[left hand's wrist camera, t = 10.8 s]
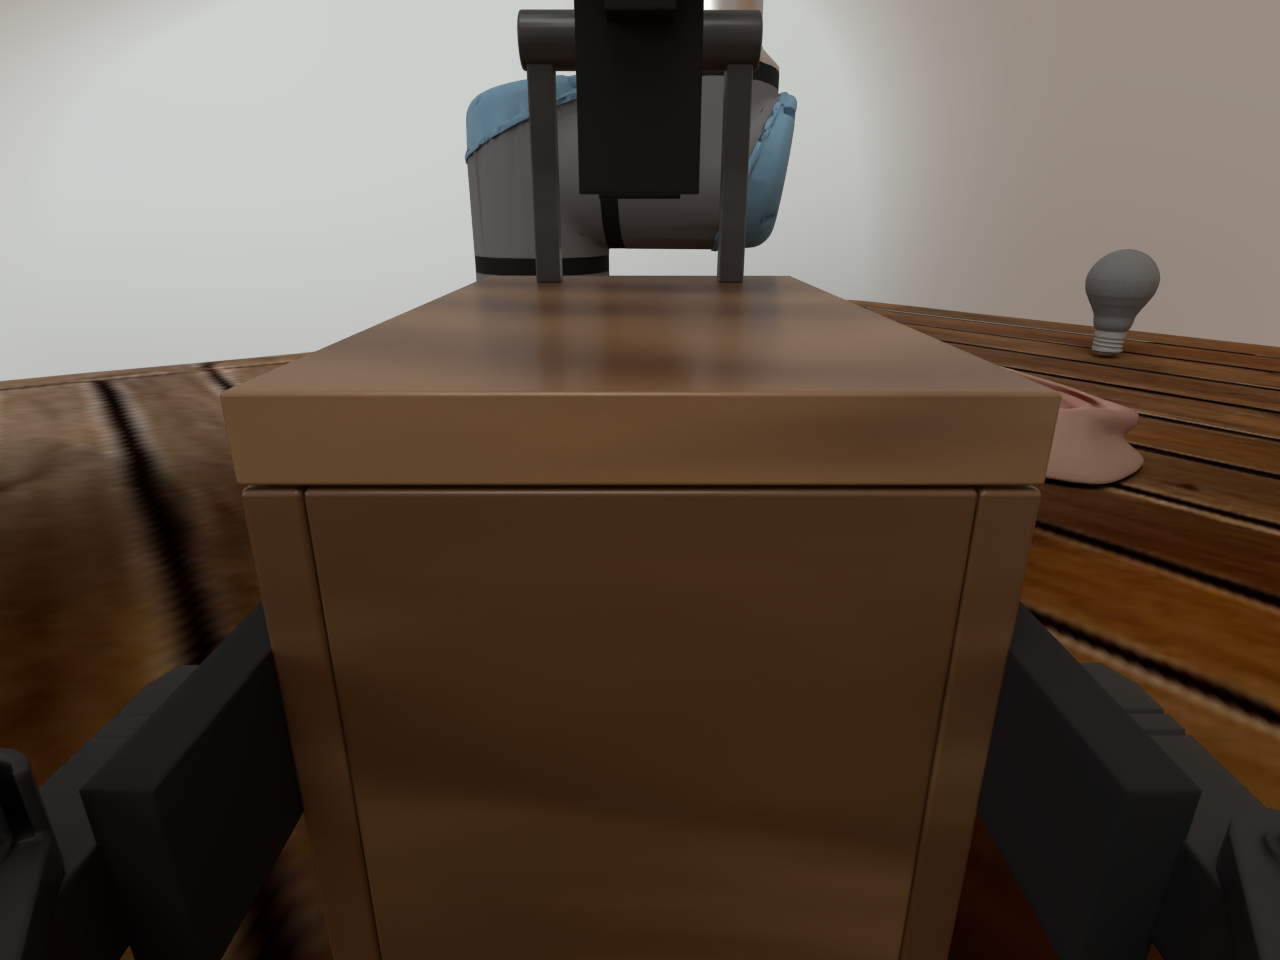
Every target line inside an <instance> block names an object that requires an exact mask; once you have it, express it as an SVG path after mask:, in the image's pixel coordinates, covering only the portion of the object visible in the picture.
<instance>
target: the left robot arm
mask: <svg viewBox="0 0 1280 960" xmlns="http://www.w3.org/2000/svg"><path fill="white" fill-rule="evenodd" d="M303 812H304V810H303V805H302V800H301V795H300V790H299V785H298V780H297V775H296V770H295V765H294V760H293V755H292V750H291V745H290V740H289V735H288V730H287V725H286V720H285V715H284V710H283V705H282V700H281V695H280V690H279V684H278V679H277V674H276V669H275V664H274V659H273V654H272V649H271V644H270V639H269V634H268V629H267V624H266V619H265V614H264V609H263V604H262V601H261V602H260V603H259V604H258V605H257V606H256V607H255V608H254V609H253V610H252V611H251V612H250V613H249V614H248V615H247V617H246V618H245V619H244V620H243V621H242V622H241V623H240V624H239V625H238V626H237V627H236V628H235V629H234V630H233V631H232V632H231V633H230V634H229V635H228V636H227V637H226V638H225V639H224V640H223V641H222V642H221V643H220V644H219V646H218V647H217V648H216V649H215V650H214V651H213V652H212V653H211V654H210V655H209V656H208V657H207V658H206V659H205V660H204V661H203V662H202V663H201V664H200V665H180V666H179V667H177V668H175V669H173V670H172V671H170V672H168V673H167V674H165V675H163V676H162V677H160V678H158V679H157V680H155V681H153V682H151V683H150V684H148V685H146V686H145V687H144V688H143V689H141V690H140V691H139V692H138V693H137V694H136V695H135V696H134V697H133V698H132V699H131V700H130V701H129V702H128V703H127V704H126V705H125V706H124V707H123V708H122V709H121V710H120V711H119V714H118V716H117V717H112V718H111V719H110V720H109V721H108V722H107V723H106V724H105V725H104V726H103V727H102V728H101V729H100V730H99V731H98V732H97V736H96V738H91V739H90V740H89V741H88V742H87V743H85V744H84V745H83V746H82V747H81V748H80V749H79V750H78V751H77V752H76V753H75V754H74V755H73V756H72V757H71V758H70V759H69V760H68V761H67V762H66V763H65V764H64V765H63V766H62V767H61V768H60V769H59V770H57V771H56V772H55V773H54V774H53V775H52V776H51V777H50V778H49V779H48V780H47V781H46V782H45V783H44V784H43V785H42V786H41V787H40V788H39V789H38V786H37V784H36V781H35V778H34V775H33V772H32V770H31V767H30V764H29V761H28V758H27V756H25V755H23V754H22V753H20V752H18V751H17V750H15V749H10V748H0V960H119V959H120V958H121V957H122V955H123V954H124V952H125V951H126V949H127V948H128V946H129V945H130V947H131V950H132V953H133V956H134V959H135V960H221V959H222V957H223V955H224V953H225V951H226V950H227V948H228V946H229V944H230V942H231V941H232V939H233V937H234V935H235V933H236V932H237V930H238V928H239V926H240V924H241V923H242V921H243V919H244V917H245V916H246V914H247V912H248V910H249V908H250V907H251V905H252V903H253V901H254V899H255V898H256V896H257V894H258V892H259V890H260V889H261V887H262V885H263V883H264V881H265V880H266V878H267V876H268V874H269V873H270V871H271V869H272V867H273V865H274V864H275V862H276V860H277V858H278V856H279V855H280V853H281V851H282V849H283V847H284V846H285V844H286V842H287V840H288V838H289V837H290V835H291V833H292V831H293V829H294V828H295V826H296V824H297V822H298V821H299V819H300V817H301V815H302V813H303ZM977 812H978V814H979V816H980V817H981V819H982V821H983V823H984V825H985V826H986V828H987V830H988V832H989V834H990V835H991V837H992V839H993V841H994V842H995V844H996V846H997V848H998V850H999V851H1000V853H1001V855H1002V857H1003V859H1004V860H1005V862H1006V864H1007V866H1008V868H1009V869H1010V871H1011V873H1012V875H1013V877H1014V878H1015V880H1016V882H1017V884H1018V885H1019V887H1020V889H1021V891H1022V893H1023V894H1024V896H1025V898H1026V900H1027V902H1028V903H1029V905H1030V907H1031V909H1032V911H1033V912H1034V914H1035V916H1036V918H1037V920H1038V921H1039V923H1040V925H1041V927H1042V928H1043V930H1044V932H1045V934H1046V936H1047V937H1048V939H1049V941H1050V943H1051V945H1052V946H1053V948H1054V950H1055V952H1056V954H1057V955H1058V957H1059V959H1060V960H1146V959H1147V956H1148V953H1149V950H1150V947H1151V944H1152V943H1153V944H1154V946H1155V947H1156V948H1157V950H1158V951H1159V953H1160V954H1161V956H1162V957H1163V959H1164V960H1280V811H1279V810H1274V809H1269V808H1266V807H1265V806H1264V805H1263V804H1262V803H1261V802H1260V801H1259V800H1257V799H1256V798H1255V797H1254V796H1253V795H1252V794H1251V793H1250V792H1249V791H1248V790H1247V789H1246V788H1245V787H1244V786H1243V785H1242V784H1241V783H1240V782H1239V781H1238V780H1237V779H1236V778H1234V777H1233V776H1232V775H1231V774H1230V773H1229V772H1228V771H1227V770H1226V769H1225V768H1224V767H1223V766H1222V765H1221V764H1220V763H1219V762H1218V761H1217V760H1216V759H1215V758H1214V757H1213V756H1212V755H1210V754H1209V753H1208V752H1207V751H1206V750H1205V749H1204V748H1203V747H1202V746H1201V745H1200V744H1199V743H1198V742H1197V741H1196V740H1195V739H1194V738H1193V737H1192V736H1186V734H1185V730H1184V729H1183V728H1182V727H1181V726H1180V725H1179V724H1178V723H1177V722H1176V721H1175V720H1174V719H1173V718H1172V717H1171V716H1170V715H1169V714H1164V713H1163V709H1162V708H1161V707H1160V706H1159V705H1158V704H1157V703H1156V702H1155V701H1154V700H1153V699H1152V698H1151V697H1150V696H1149V695H1148V694H1147V693H1146V692H1145V691H1144V690H1143V689H1142V688H1141V687H1139V686H1138V685H1137V684H1136V683H1134V682H1132V681H1131V680H1129V679H1127V678H1126V677H1124V676H1122V675H1120V674H1119V673H1117V672H1115V671H1114V670H1112V669H1110V668H1109V667H1107V666H1105V665H1103V664H1102V663H1079V662H1078V661H1077V660H1076V659H1075V658H1074V657H1073V656H1072V655H1071V654H1070V653H1069V652H1068V651H1067V650H1066V649H1065V648H1064V647H1063V646H1062V645H1061V644H1060V643H1059V642H1058V641H1057V639H1056V638H1055V637H1054V636H1053V635H1052V634H1051V633H1050V632H1049V631H1048V630H1047V629H1046V628H1045V627H1044V626H1043V625H1042V624H1041V623H1040V622H1039V621H1038V620H1037V619H1036V618H1035V617H1034V616H1033V615H1032V614H1031V613H1030V612H1029V610H1028V609H1027V608H1026V607H1025V606H1024V605H1023V604H1022V603H1021V602H1019V607H1018V612H1017V617H1016V622H1015V627H1014V632H1013V637H1012V642H1011V647H1010V650H1009V654H1008V659H1007V664H1006V669H1005V674H1004V679H1003V684H1002V689H1001V694H1000V699H999V704H998V709H997V714H996V719H995V724H994V729H993V734H992V739H991V744H990V749H989V754H988V759H987V764H986V769H985V774H984V779H983V784H982V789H981V794H980V799H979V804H978V809H977Z"/></svg>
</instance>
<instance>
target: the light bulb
mask: <svg viewBox="0 0 1280 960" xmlns="http://www.w3.org/2000/svg"><path fill="white" fill-rule="evenodd" d="M1159 282H1160V273H1159V270H1158V267H1157V265H1156V263H1155V262H1154V261H1153V259H1152V258H1151V257H1149V256H1148V255H1147V254H1145V253H1143V252H1140V251H1137V250H1132V249H1124V250H1119V251H1115V252H1112V253H1109V254H1107V255H1106V256H1104V257H1103V258H1101V259H1100V260H1099V261H1098V262H1097V263H1096V264H1095V265H1094V266H1093V267H1092V268H1091V270H1090V271H1089V273H1088V275H1087V278H1086V285H1085V287H1086V294H1087V296H1088V299H1089V302H1090V304H1091V307H1092V310H1093V313H1094V321H1093V323H1094V327H1095V334H1094V335H1095V336H1096V337H1094V339H1095V341H1093V343H1095V344H1094V345H1092V350H1094V351H1096V352H1098V354H1100V355H1114V354H1117V353H1119V352H1122V350H1123V349H1121V347H1123V346H1122V343H1124V341H1123V339H1125V337H1126V333H1127V331H1128V330H1129V329H1130V328H1131V326H1132V324H1133V322H1134V319H1135V317H1136V315H1137V314H1138V313H1139V312H1140V310H1141V309H1142V308H1143V307H1144V306H1145V305H1146V304H1147V303H1148V301H1149V300H1150V299H1151V298H1152V297H1153V296H1154V294H1155V292H1156V290H1157V288H1158V286H1159Z"/></svg>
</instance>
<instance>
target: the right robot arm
mask: <svg viewBox="0 0 1280 960" xmlns="http://www.w3.org/2000/svg"><path fill="white" fill-rule="evenodd" d="M704 10H760V11H761V14H762V15H763V0H574V15H575V52H576V75H573V76H563V75H557V76H556V99H557V128H558V158H559V187H560V216H561V246H562V275H563V276H609V249H610V248H628V249H630V248H631V249H711V250H712V251H718V237H719V208H720V180H721V152H722V124H723V96H724V71H702V61H703V22H704ZM778 86H779V67H778V65H777V64H776V63H775V62H774V61H773V59H772V58H771V57H770V56H769V55H768V54H767V53H766V52H765V51H764V49H763V47H761V55H760V61H759V65H758V68H757V70H756V71H753V82H752V103H751V124H750V145H749V167H748V188H747V209H746V230H745V248H751V247H756V246H758V245H760V244H762V243H763V242H764V241H766V240H767V238H768V237H769V236H770V234H771V232H772V230H773V228H774V224H775V221H776V217H777V213H778V209H779V204H780V200H781V196H782V191H783V186H784V181H785V176H786V171H787V166H788V160H789V155H790V149H791V143H792V137H793V131H794V121H795V112H796V108H797V101H796V98H795V97H794V96H792V95H789V94H788V93H787V92H783V93H780V94H778ZM466 128H467V151H466V155H465V160H466V164H468V177H469V189H470V202H471V214H472V226H473V239H474V251H475V263H476V278H477V281H479V280H482V279H484V278H486V277H488V276H536V258H535V236H534V215H533V193H532V171H531V149H530V128H529V106H528V84H527V79H526V80H521V81H516V82H511V83H507V84H504V85H500V86H497V87H494V88H491V89H489V90H486V91H485V92H483V93H481V94H480V95H478V96H477V97H476V98H475V99H474V100H473V101H472V102H471V104H470V105H469V108H468V110H467V116H466Z"/></svg>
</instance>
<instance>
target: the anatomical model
mask: <svg viewBox="0 0 1280 960" xmlns="http://www.w3.org/2000/svg"><path fill="white" fill-rule="evenodd" d="M1000 367H1001V366H1000ZM1002 368H1004V367H1002ZM1004 369H1007V370H1009V371H1011V372H1013V373H1016V374H1018V375H1020V376H1023V377H1025V378H1027V379H1030V380H1032V381H1034V382H1037V383H1039V384H1041V385H1044V386H1046V387H1048V388H1051V389H1053V390H1055V391H1058V392H1060V393H1061V396H1062V398H1061V403H1060V408H1059V413H1058V418H1057V423H1056V428H1055V433H1054V438H1053V443H1052V448H1051V453H1050V458H1049V463H1048V468H1047V473H1046V477H1045V478H1047V479H1053V480H1059V481H1066V482H1072V483H1081V484H1107V483H1112V482H1115V481H1118V480H1121V479H1123V478H1125V477H1127V476H1129V475H1131V474H1133V473H1134V472H1136V471H1137V470H1138V469H1139V468H1140V467H1141V465H1142V464H1143V462H1144V459H1143V457H1142V456H1141V455H1140V453H1139V452H1137V451H1136V450H1135V449H1134V448H1133V447H1132V446H1131V445H1129V444H1128V443H1127V442H1126V441H1125V439H1124V435H1125V434H1126V433H1127V432H1128V431H1130V430H1131V429H1133V428H1134V427H1135V426H1136V425H1137V423H1138V420H1139V415H1138V413H1137V412H1136V411H1134V410H1132V409H1130V408H1127V407H1124V406H1122V405H1119V404H1116V403H1113V402H1110V401H1107V400H1104V399H1101V398H1098V397H1095V396H1092V395H1090V394H1087V393H1084V392H1082V391H1079V390H1076V389H1073V388H1070V387H1068V386H1065V385H1062V384H1059V383H1055V382H1052V381H1048V380H1045V379H1042V378H1038V377H1035V376H1032V375H1028V374H1025V373H1022V372H1018V371H1015V370H1012V369H1008V368H1004Z"/></svg>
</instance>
